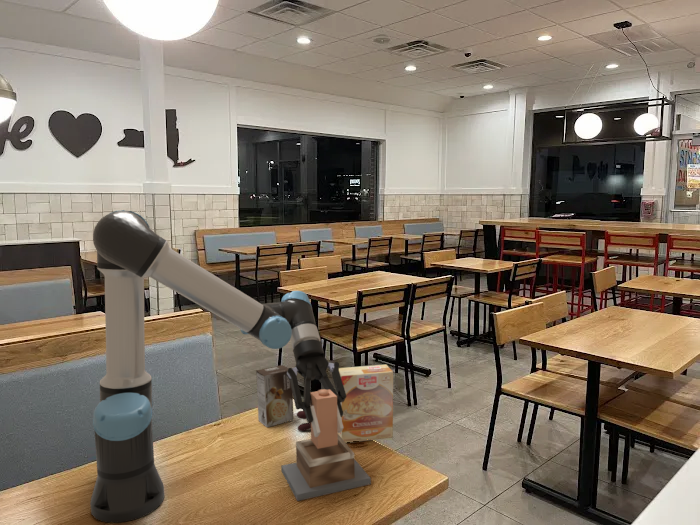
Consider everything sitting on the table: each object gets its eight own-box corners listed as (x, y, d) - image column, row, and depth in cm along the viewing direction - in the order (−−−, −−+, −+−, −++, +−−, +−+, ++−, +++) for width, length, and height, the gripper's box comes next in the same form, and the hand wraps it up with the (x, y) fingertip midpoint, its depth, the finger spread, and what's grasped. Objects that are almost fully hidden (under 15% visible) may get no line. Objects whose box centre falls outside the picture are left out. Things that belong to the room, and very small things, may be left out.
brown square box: (310, 487, 120) (309, 462, 119) (296, 465, 130) (296, 441, 129) (354, 478, 124) (354, 453, 123) (338, 457, 134) (337, 433, 133)
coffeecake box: (341, 444, 144) (340, 375, 142) (336, 433, 151) (335, 367, 149) (393, 438, 148) (393, 371, 145) (386, 427, 155) (386, 363, 152)
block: (317, 448, 123) (316, 396, 121) (311, 439, 128) (310, 389, 126) (337, 444, 125) (337, 393, 123) (330, 436, 129) (329, 386, 128)
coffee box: (284, 413, 165) (283, 364, 163) (294, 420, 160) (292, 369, 158) (257, 420, 160) (255, 369, 158) (266, 428, 155) (264, 375, 153)
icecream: (348, 404, 156) (298, 407, 158) (345, 407, 149) (293, 410, 150) (350, 428, 155) (300, 431, 157) (347, 432, 148) (295, 436, 149)
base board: (297, 501, 117) (297, 494, 117) (281, 471, 130) (281, 465, 130) (370, 484, 124) (370, 478, 124) (348, 457, 137) (348, 451, 137)
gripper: (336, 348, 141) (360, 432, 128) (270, 357, 135) (288, 445, 122) (343, 334, 136) (369, 419, 123) (274, 342, 129) (294, 433, 116)
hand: (329, 432), depth 122 cm, fingers closed on block, 5 cm apart
